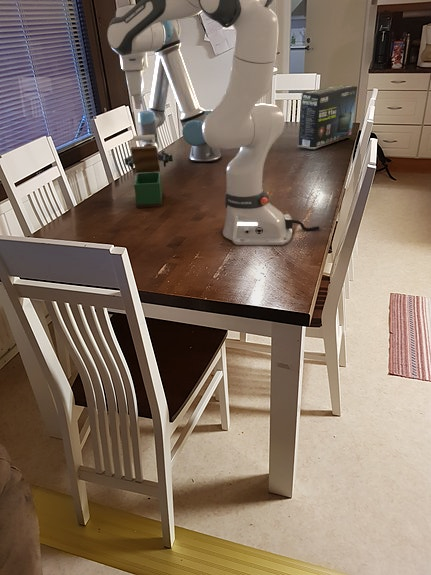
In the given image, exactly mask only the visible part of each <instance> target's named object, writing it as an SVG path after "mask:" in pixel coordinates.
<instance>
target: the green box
mask: <svg viewBox="0 0 431 575" xmlns="http://www.w3.org/2000/svg"><path fill="white" fill-rule="evenodd" d="M133 186H134V195H135V202H136V208H138V209H139V208H140V209H141V208H158V207H162V206H163V187H162V177H161V171H160V172H143V173H136V174H135V178H134V184H133Z"/></svg>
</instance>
